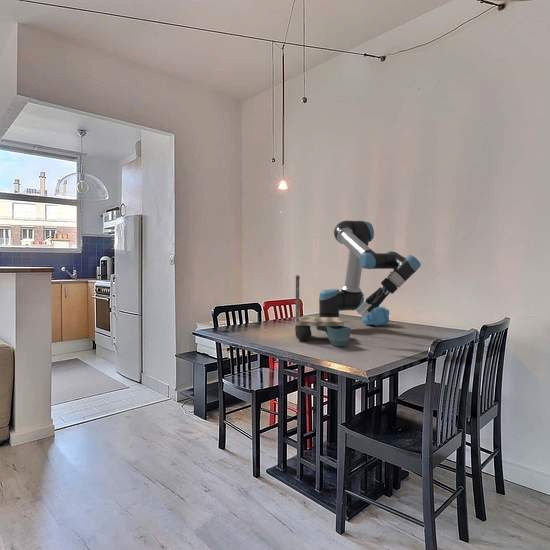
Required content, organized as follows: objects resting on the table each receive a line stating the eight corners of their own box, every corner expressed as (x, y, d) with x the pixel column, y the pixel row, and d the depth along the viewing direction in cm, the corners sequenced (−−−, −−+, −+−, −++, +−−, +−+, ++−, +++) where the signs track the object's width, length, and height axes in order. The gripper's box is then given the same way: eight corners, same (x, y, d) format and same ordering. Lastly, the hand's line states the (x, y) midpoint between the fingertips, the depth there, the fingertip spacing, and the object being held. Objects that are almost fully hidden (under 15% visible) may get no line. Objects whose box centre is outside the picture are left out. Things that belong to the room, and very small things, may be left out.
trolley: (339, 335, 216) (340, 274, 215) (343, 341, 200) (344, 276, 199) (295, 335, 217) (295, 274, 215) (295, 341, 201) (295, 275, 200)
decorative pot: (362, 327, 245) (362, 304, 245) (361, 322, 261) (361, 302, 260) (390, 327, 242) (390, 305, 242) (387, 323, 258) (387, 302, 258)
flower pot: (325, 344, 193) (326, 326, 193) (341, 343, 196) (342, 325, 196) (334, 348, 185) (334, 329, 185) (351, 346, 188) (351, 328, 188)
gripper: (381, 276, 201) (350, 305, 202) (393, 278, 176) (358, 311, 177) (391, 286, 200) (361, 316, 202) (405, 290, 176) (370, 323, 177)
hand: (359, 314), depth 189 cm, fingers open, 13 cm apart
